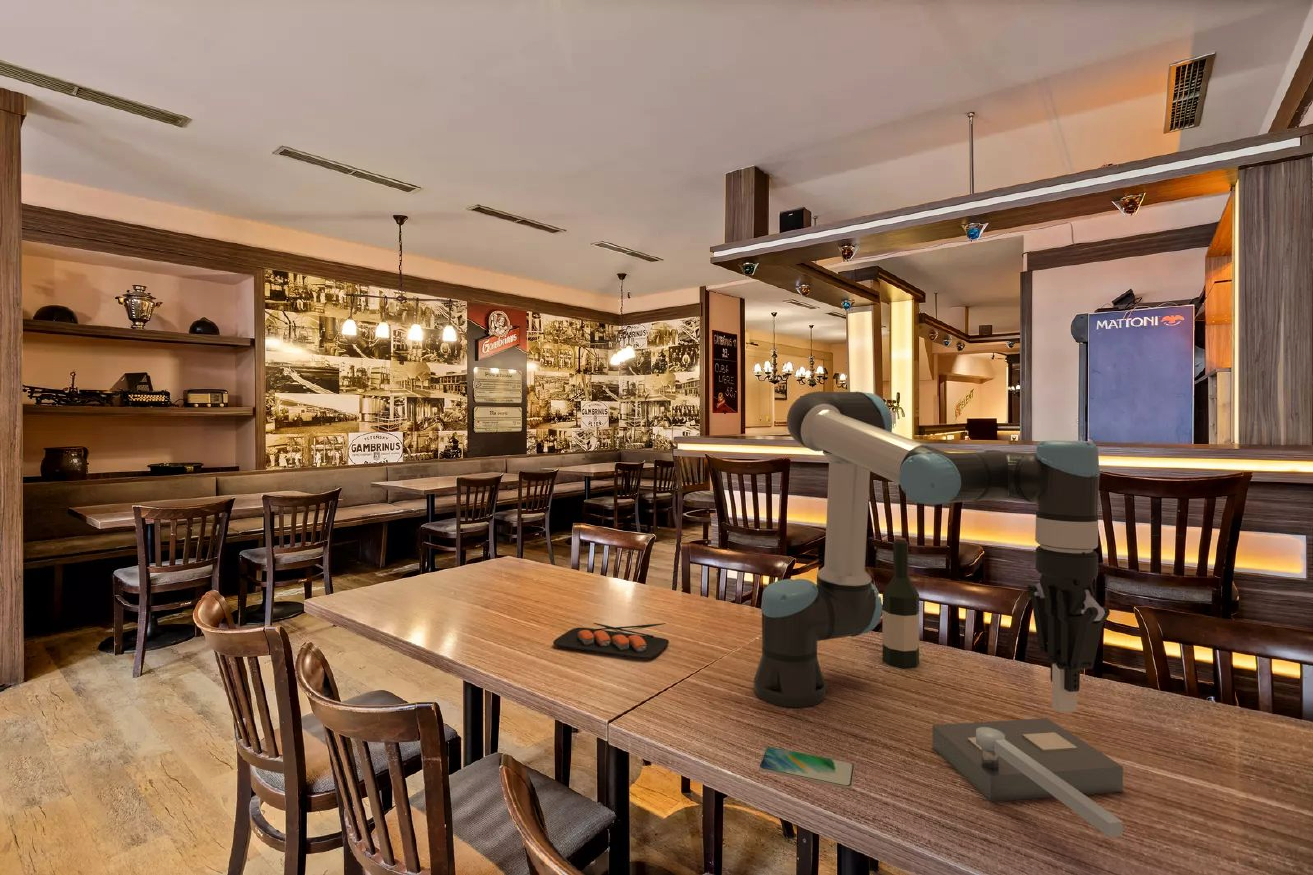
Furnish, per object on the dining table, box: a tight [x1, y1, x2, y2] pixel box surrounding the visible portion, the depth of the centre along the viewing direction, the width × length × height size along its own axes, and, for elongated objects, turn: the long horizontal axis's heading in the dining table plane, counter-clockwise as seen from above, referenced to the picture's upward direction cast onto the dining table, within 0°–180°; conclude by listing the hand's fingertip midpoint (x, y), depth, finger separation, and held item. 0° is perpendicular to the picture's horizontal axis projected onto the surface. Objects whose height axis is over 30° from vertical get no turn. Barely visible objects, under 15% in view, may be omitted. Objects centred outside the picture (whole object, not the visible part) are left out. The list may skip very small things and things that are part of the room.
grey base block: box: [932, 717, 1124, 803], centre depth 103 cm, size 22×16×7 cm
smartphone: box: [758, 746, 856, 790], centre depth 103 cm, size 7×1×15 cm
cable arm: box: [976, 727, 1124, 839], centre depth 87 cm, size 24×4×2 cm, turn 9°
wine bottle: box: [882, 537, 920, 670], centre depth 148 cm, size 8×8×30 cm
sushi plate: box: [552, 622, 670, 660], centre depth 168 cm, size 29×30×4 cm
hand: (1064, 709), depth 89 cm, fingers closed
